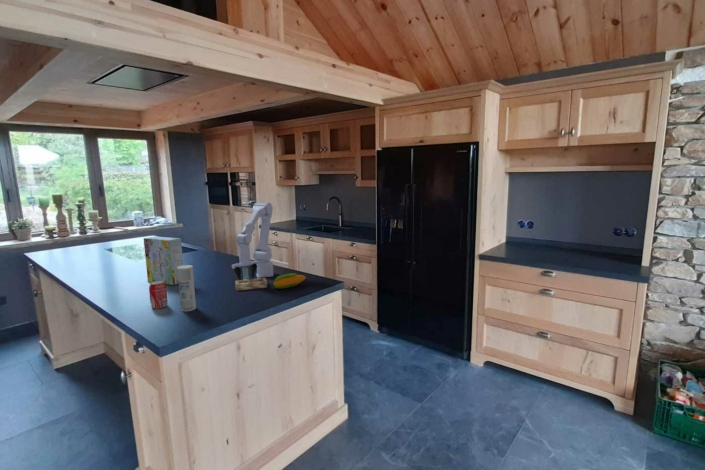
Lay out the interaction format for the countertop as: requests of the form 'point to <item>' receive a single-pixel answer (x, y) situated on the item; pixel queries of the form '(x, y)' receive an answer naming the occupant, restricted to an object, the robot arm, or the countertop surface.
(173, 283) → the snack box
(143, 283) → the countertop surface
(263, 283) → the hole block
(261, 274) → the robot arm
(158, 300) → the soda can
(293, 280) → the corn
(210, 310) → the countertop surface
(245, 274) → the peg
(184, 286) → the spray can
